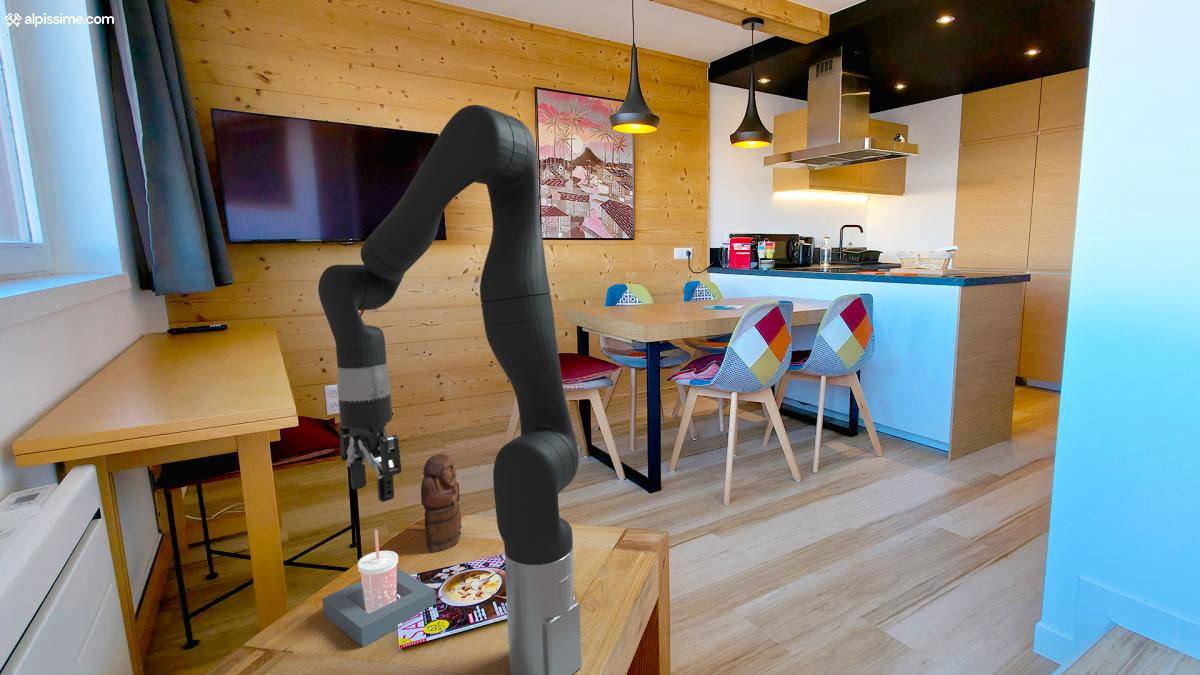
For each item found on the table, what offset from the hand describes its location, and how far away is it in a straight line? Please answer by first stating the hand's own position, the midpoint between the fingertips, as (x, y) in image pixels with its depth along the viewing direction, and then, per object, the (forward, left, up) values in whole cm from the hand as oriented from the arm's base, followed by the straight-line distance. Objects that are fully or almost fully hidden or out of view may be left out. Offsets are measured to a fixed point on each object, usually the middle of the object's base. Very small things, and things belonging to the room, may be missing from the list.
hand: (372, 493), depth 90 cm
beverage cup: (0, 0, -20) cm, 20 cm away
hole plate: (0, 0, -20) cm, 20 cm away
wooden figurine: (+13, -21, -20) cm, 32 cm away
